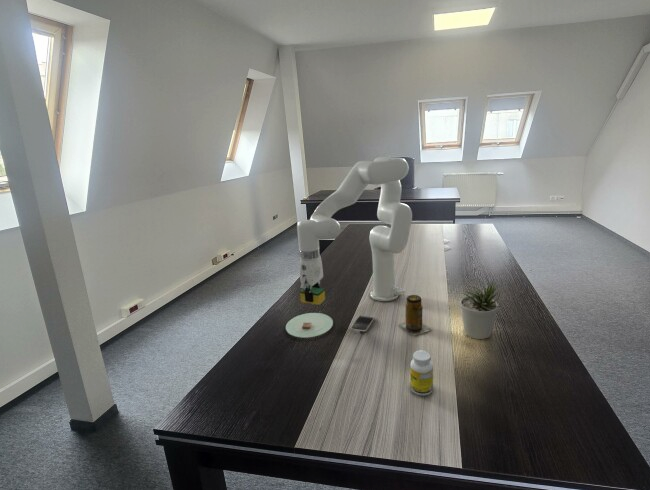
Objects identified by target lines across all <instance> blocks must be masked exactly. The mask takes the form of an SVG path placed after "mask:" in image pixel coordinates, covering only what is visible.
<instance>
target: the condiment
mask: <svg viewBox="0 0 650 490" xmlns="http://www.w3.org/2000/svg"><path fill="white" fill-rule="evenodd" d="M423 317H424V316H423V304H422V297H421V296H419V295H418V294H410V295H407V297H406V303H405V323H402V324H400V327H402V328H403V329H404V330H405V331H407V332H408V333H409V334H411V336H414V337H415V336H418V335H422V334H424V333H427V332H429V331H431V330H430V329H429V328H428V327H426V326H425V325H424V324H423Z"/></svg>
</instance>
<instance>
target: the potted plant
mask: <svg viewBox="0 0 650 490" xmlns="http://www.w3.org/2000/svg"><path fill="white" fill-rule="evenodd" d="M479 283H480V284H481V286H482V289H483V291H482V290H480V289H479V288H477V287H476V286H471V288H472V290H470V289H469V291H465V293H462V294H463V295H465V296H464V297H462V298H461V299H460V300H459V307H460V310H461V318H462V324H463V331H464V333H465V335H467V336H468V337H469V338H472V339H475V340H486V339H487V338H490V336H491V335H492V331H493V328H494V324H495V321H496V316H497V313H498V311H499V308H500V307H501V305H499V303H498V302H497V300H498V299H499V298H500V296H498V297H497V298H496V299H495V300H494V298H495V297H496V296H497V295H499V292H496V293H495V291H496V289H497V288H498V285H496V283H494V281H492V282H489V281H488V282H487V287H485V286H484V285H483V283H482V282H481V281H479Z"/></svg>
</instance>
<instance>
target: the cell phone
mask: <svg viewBox="0 0 650 490" xmlns="http://www.w3.org/2000/svg"><path fill="white" fill-rule="evenodd" d="M374 321H375V316H369V315H368V316H367V315H359V316H358V317H357V318H356V320H355V321H354V323H352V325H351V326H350V330H352V331H359V333H360V334H366V333H367V331H368V330H369V328H370V327H371V325H372V324H373V323H374Z"/></svg>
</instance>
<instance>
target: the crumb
mask: <svg viewBox="0 0 650 490" xmlns="http://www.w3.org/2000/svg"><path fill="white" fill-rule="evenodd" d="M310 328H311V323H303V326H302V329H310Z"/></svg>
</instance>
